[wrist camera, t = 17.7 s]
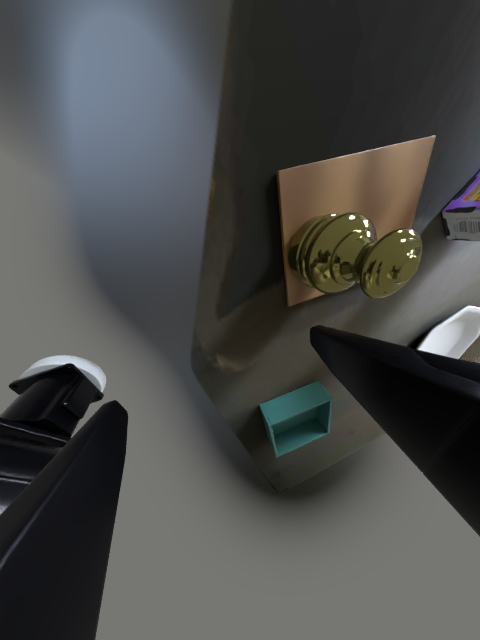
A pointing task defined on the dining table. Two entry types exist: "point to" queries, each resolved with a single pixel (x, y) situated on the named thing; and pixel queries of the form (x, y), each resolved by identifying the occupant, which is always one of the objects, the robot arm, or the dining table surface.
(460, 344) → the plate
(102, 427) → the robot arm
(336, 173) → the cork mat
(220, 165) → the dining table surface
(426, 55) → the dining table surface
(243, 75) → the dining table surface
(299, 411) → the storage box
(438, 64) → the dining table surface
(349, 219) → the brass door knob
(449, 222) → the candy box
